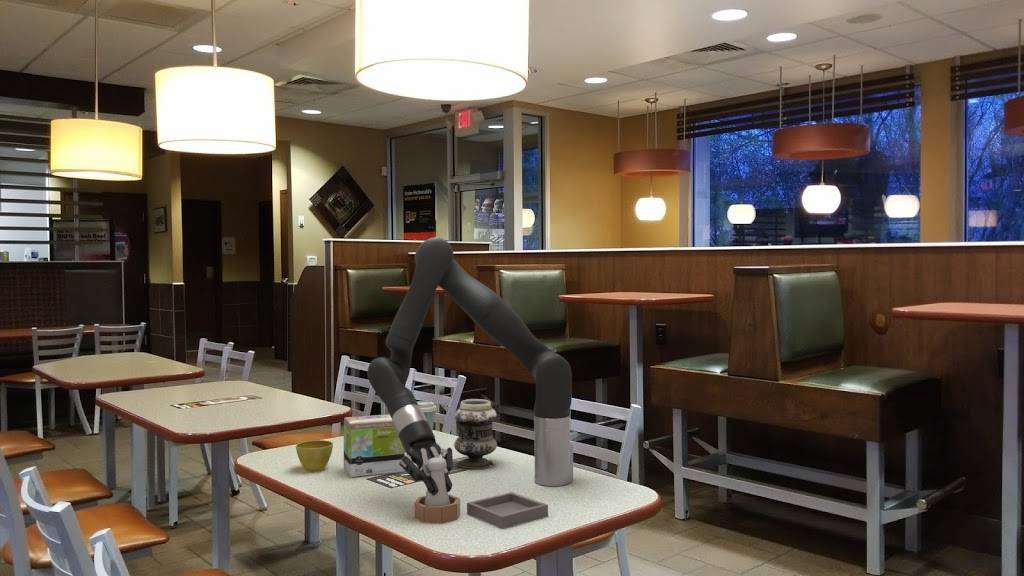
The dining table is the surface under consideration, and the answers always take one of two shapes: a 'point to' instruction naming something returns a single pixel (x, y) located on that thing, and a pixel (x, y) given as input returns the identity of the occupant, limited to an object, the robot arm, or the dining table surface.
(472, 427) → the apothecary jar
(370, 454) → the tea box
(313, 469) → the flower pot
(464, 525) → the dining table surface
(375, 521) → the dining table surface
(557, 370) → the robot arm
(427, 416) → the disposable coffee cup
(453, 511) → the cup ring
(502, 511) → the tray
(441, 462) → the salt shaker
